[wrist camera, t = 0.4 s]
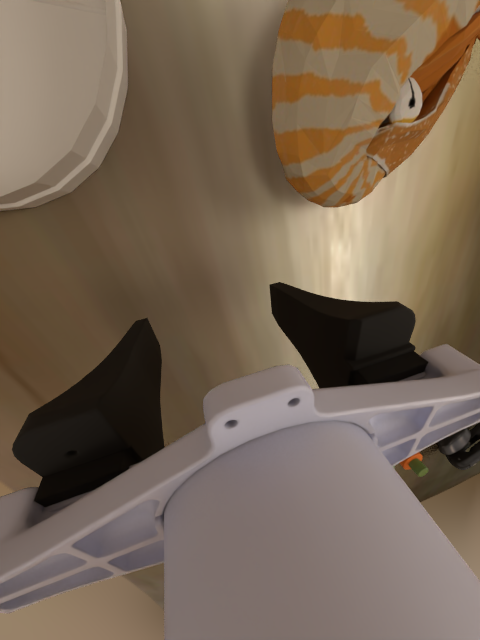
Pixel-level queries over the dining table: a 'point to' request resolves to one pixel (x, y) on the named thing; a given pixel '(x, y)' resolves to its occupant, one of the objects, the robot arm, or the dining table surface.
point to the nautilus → (363, 87)
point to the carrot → (415, 464)
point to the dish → (58, 94)
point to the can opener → (462, 447)
